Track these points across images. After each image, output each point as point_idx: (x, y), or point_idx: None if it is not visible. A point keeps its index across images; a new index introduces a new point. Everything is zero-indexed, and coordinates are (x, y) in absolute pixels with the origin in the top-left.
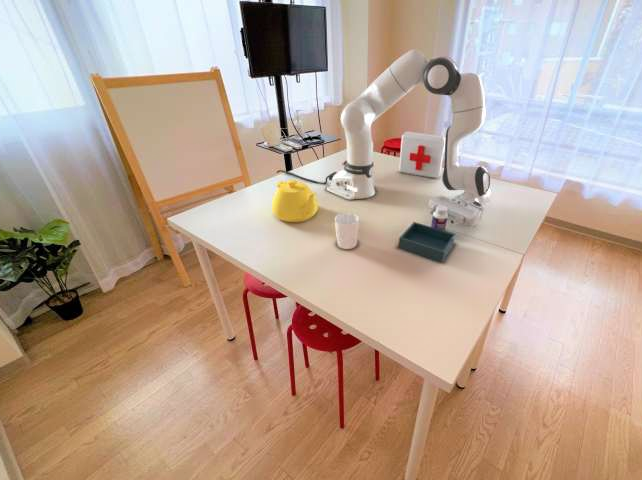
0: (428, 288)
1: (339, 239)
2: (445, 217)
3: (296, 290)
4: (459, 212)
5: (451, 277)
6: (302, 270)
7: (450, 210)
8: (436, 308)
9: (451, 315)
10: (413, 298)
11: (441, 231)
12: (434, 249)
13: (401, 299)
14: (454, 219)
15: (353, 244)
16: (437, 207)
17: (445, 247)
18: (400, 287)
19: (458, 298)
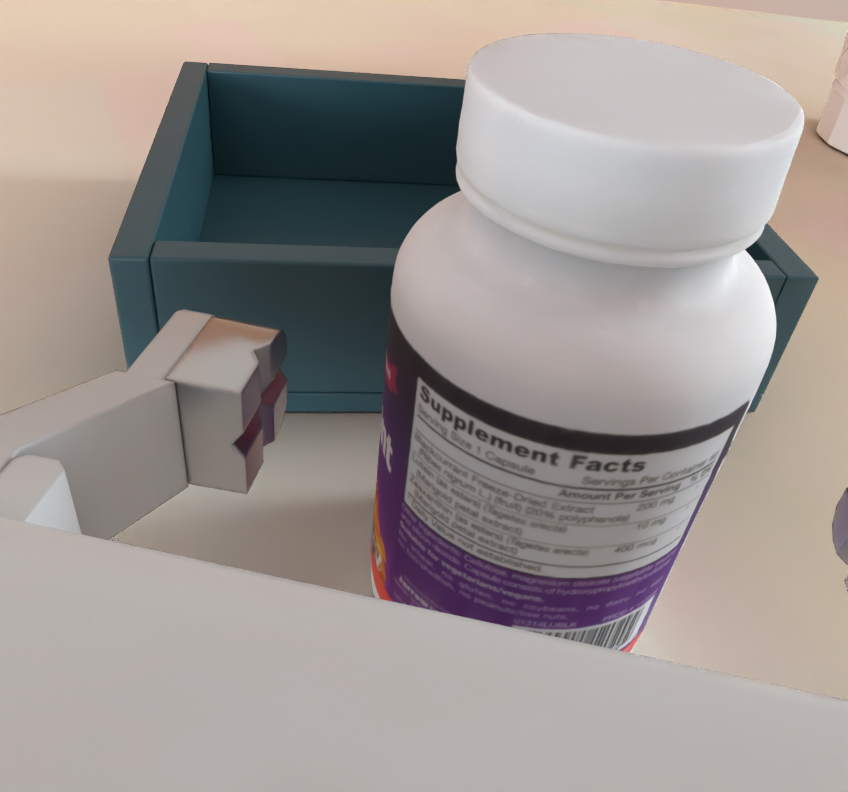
0: (213, 60)
1: None
2: (416, 224)
3: (676, 4)
4: (98, 560)
5: (84, 118)
6: (776, 38)
7: (525, 644)
8: (135, 18)
9: (53, 10)
10: (263, 29)
11: (349, 249)
12: (284, 68)
13: (312, 22)
14: (207, 335)
15: (827, 103)
16: (725, 70)
17: (190, 92)
18: (356, 47)
19: (20, 51)
